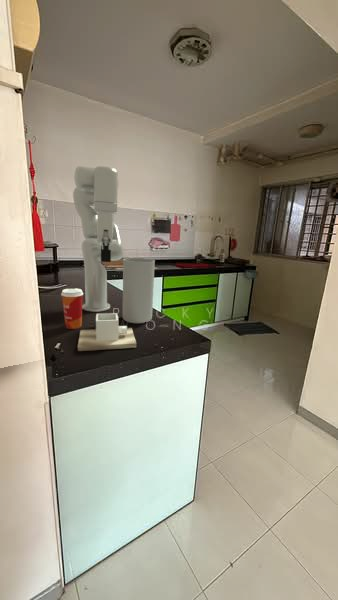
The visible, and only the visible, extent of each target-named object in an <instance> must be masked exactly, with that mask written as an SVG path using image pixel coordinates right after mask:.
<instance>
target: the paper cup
mask: <svg viewBox="0 0 338 600" xmlns="http://www.w3.org/2000/svg"><path fill="white" fill-rule="evenodd" d="M60 295H61V299H62V306H63V315H64V323H65V327H66V328H67V329H69V330H76V329H79V328H82V326H83V325H82V323H83V321H82V320H83V308H82V305H83V297H84V296H83V295H84V292H83V290H82V289H81V288H76V287H75V288H64V289H62V292H61V293H60Z"/></svg>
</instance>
